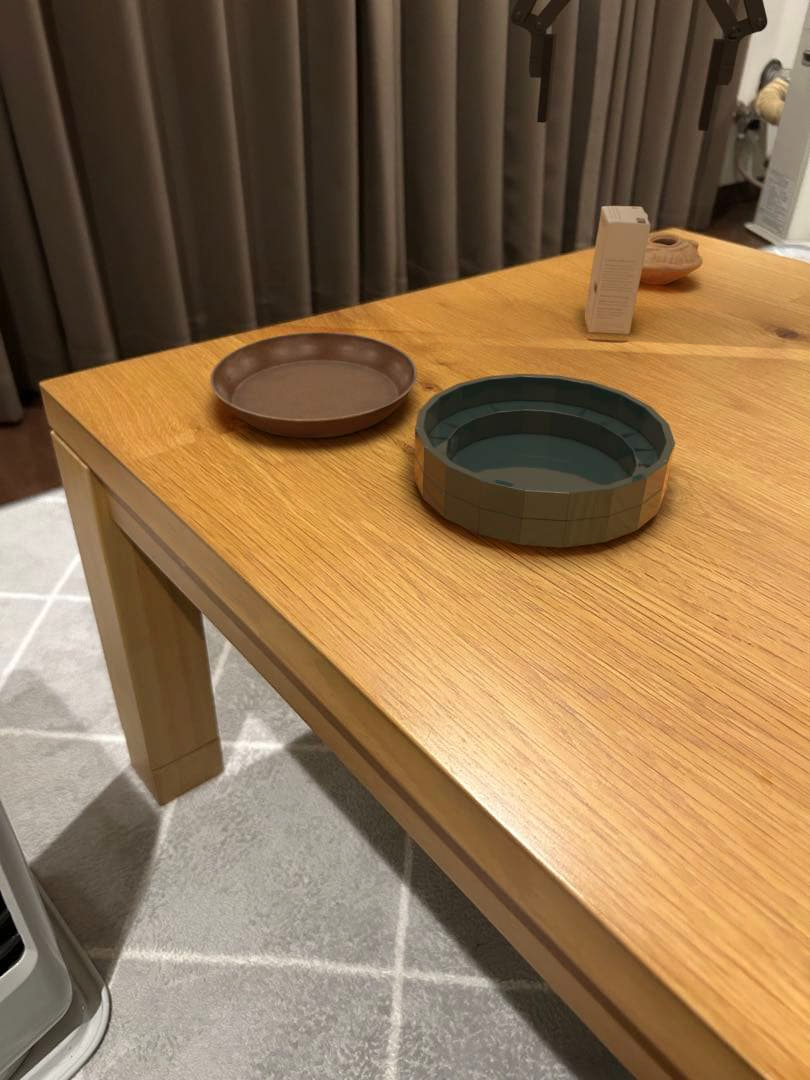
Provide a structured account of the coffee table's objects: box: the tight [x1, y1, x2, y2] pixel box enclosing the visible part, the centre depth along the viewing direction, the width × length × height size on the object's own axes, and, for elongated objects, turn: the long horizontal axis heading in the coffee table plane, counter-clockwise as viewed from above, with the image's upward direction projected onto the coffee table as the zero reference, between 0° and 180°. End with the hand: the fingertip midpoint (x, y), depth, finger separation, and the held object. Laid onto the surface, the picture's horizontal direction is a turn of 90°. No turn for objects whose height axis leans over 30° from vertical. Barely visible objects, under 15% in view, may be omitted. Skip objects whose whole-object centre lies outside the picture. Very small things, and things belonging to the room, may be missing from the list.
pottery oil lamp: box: [640, 231, 704, 286], centre depth 103 cm, size 9×12×7 cm
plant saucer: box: [209, 331, 418, 439], centre depth 75 cm, size 18×18×3 cm
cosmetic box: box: [584, 205, 652, 344], centre depth 87 cm, size 6×4×12 cm
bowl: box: [413, 373, 676, 548], centre depth 63 cm, size 18×18×5 cm
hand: (621, 124), depth 75 cm, fingers open, 13 cm apart
